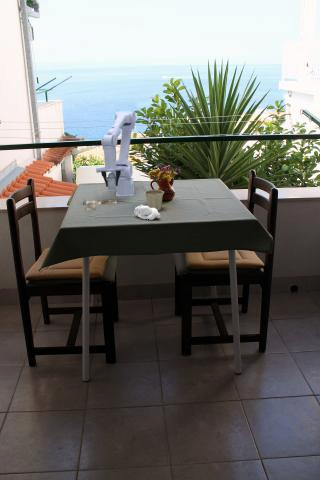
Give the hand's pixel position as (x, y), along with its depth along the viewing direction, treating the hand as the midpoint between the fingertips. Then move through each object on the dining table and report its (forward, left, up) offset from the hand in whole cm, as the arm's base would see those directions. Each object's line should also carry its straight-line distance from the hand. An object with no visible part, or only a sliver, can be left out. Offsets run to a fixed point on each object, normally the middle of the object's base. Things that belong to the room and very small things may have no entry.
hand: (111, 185), depth 251 cm
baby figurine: (-16, +28, -9) cm, 33 cm away
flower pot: (-20, +16, -9) cm, 27 cm away
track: (+7, 0, -9) cm, 11 cm away
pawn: (0, 0, -2) cm, 2 cm away
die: (+11, +10, -9) cm, 17 cm away
